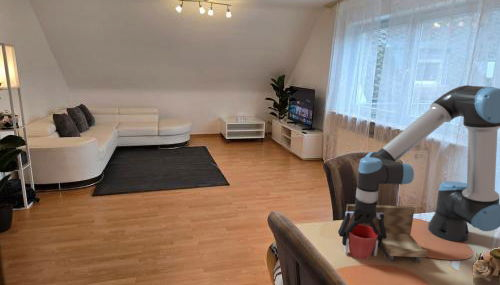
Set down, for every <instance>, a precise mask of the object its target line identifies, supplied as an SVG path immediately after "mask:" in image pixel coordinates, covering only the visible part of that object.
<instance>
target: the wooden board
mask: <svg viewBox="0 0 500 285" xmlns="http://www.w3.org/2000/svg"><path fill="white" fill-rule="evenodd" d="M354 208H355V203H354V204H353V203H352V204H351V203H346V208H345V211H348V212H353V211H354ZM379 212H382V214H383V215H384V220H383V221H384V226H385V231H386V233H400V234H410V235H411V234H412V233H411V232H412V227H413V221H414V220H413V219H414V214H415V208H414V207H413V206H408V205H406V206H405V205H404V206H403V205H385V204H384V205H383V204H382V205H380V204H377V206H376V213H379ZM353 218H354V215H352V217H351V218H350V220H349V223H348V225H347V227H348V226H349V225H350V223H351V222H352V221H353ZM373 222H374V224H375V226H376V228H377V230H378V232H379V233H381V231H380V226H379V221H378V218H377V216H376V217H375V218H374V219H373ZM359 224H360V225H365V226H369V227H371V225H370V223H369V224H366V223H359ZM347 227H346V228H347ZM371 228H372V227H371ZM345 230H346V229H345ZM411 236H412V235H411Z"/></svg>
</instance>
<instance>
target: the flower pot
mask: <svg viewBox="0 0 500 285" xmlns="http://www.w3.org/2000/svg"><path fill="white" fill-rule="evenodd" d="M377 237H378V234H375V232H374V231H373V229H372V228H371V227H369V226H365V225H360V224H358V225H357V226H356V227H355V228H354V230H353V231H352V232H351V233H350V232H349V236H348V238H349V245H348V252H349V254H350V255H351V256H352V257H353V258H355V259H359V260H367V259H369V258H371V255H372V254H373V253H372V251H373V249H374V246H375V243H376V240H377Z"/></svg>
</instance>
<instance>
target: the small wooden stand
mask: <svg viewBox="0 0 500 285" xmlns="http://www.w3.org/2000/svg"><path fill="white" fill-rule="evenodd" d="M379 234H381V233H379ZM386 236H387V238H386V239H384V238H383V239H382V241H381V242H380V247H378V248H379V250H380V251H381V252H382V253H383V255H384V256H385V258H386V260H387V261H388V262H393V261H394V260H393V259H394V257H408V258H411V259H412V260H413V262H415V263H421V259H422V258H427V254H428V251H427V249H424V248H422V247H421V246H420V244H419V243H418V242H417V241H416V240H415V238H414V237H413V236H412V235H410V234H400V233H386Z"/></svg>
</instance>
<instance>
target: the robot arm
mask: <svg viewBox="0 0 500 285" xmlns="http://www.w3.org/2000/svg"><path fill="white" fill-rule="evenodd" d="M458 117H463V124H462V125H463V127H464V128H466V129H467V132H468V133H467V162H466V163H467V164H466V166H467V168H466V169H467V171H466V172H467V173H466V174H467V175H466V183H465V182H461V181H460V182H459V181H450V180H449V181H443V182H440V185H439V188H438V193H437V200H436V206H435V212H434V214H433V215H432V217H431V219H430V221H429V222H428V226H427V227H428V228H427V229H428V231H429V232H430V233H432V234H433V235H434V236H436V237H438V238H441V239H444V240H446V241H447V240H448V241H453V242H464V241H465V242H466V241H468V239H469V236H470V232H469V227H468V224H469V225H470V226H472V227H473V228H475V229H478V230H479V231H482V232H491V231H495V230H497V229H499V228H500V194H499V192H497V191H496V173H497V172H496V170H497V146H498V130H499V129H500V87H499V88H498V87H494V86H478V85H461V86H458V87H455V88H453V89H451V90H449V91H447V92H446V93H444V94H443V95H441V96H440V97H438V98H437V99H436V100H434V101H433V102H432V103H431V104H430V108H429V109H428V110H426V111H425V112H424V113H423V114H422V115H421V116H419V117H418V118H416V119H415V120H414V121H413V122H412V123H411V124H410V125H408V126H407V127H406V128H404V129H403V130H401V132H400V133H398V134H397V135H396V136H395V137H394V138H392V139H391V140H390V141H388V142H387V144H385V145H384V146H383V147H382V148H380V149H379V150H378V151H371V152H369V153H367V154H366V155H365V156H364V157H362V158H360V161H359V164H358V169H357V170H358V171H357V183H356V191H355V200H354V204H355V208H354V211H353V212H348V211H346V210H345V212H344V217H343V220H342V222H341V224H340V227H339V229H338V231H337V233H338V235H339V237H341V238H342V241H341V243H342V245H343V252H344V254H345V255H348V254H349V253H348V252H349V238H348V236H349V232H350V233H351V232H352V231H353V230H354V228H355V227H356V226H357V225H358V224H359V223H366V224H369V223H370V225H371V227H372V229H373V231H374V232H375V234H378V237H377V240H376V243H375V246H374V249H373V251H372V254H373V256H375V257H376V256H377V253H378V248H379V247H380V242H381V241H382V239H383V238H384V239H386V238H387V236H386V231H385V226H384V221H383V220H384V215H383V214H382V212H379V213H376V206H377V205H378V197H379V188H380V185H400V186H401V185H409V184H411V183H412V182H413V181H414V178H415V171H414V167H412V165H411V164H408V163H403V162H401V163H399V162H397V161H399V160H401V158H402V157H403V156H405V155H407V153H409V152H411V150H412V149H413V148H415V147H416V146H417V145H419V144H420V143H421V142H422V141H423V140H425V139H426V138H427V137H428V136H430V135H431V134H432V133H434V132H435V131H436V130H437V129H438V128H440V127H441V126H442V125H443V124H444V123H450V122H452V120H453V119H456V118H458ZM352 215H354V218H353V221H352V222H351V223H350V225H349V226H348V227H347V225H348V223H349V220H350V218H351V217H352ZM376 216H377V218H378V221H379V226H380V231H381V234H379V232H378V230H377V228H376V226H375V224H374V222H373V219H374V218H375V217H376ZM346 227H347V228H346ZM345 229H346V230H345Z"/></svg>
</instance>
